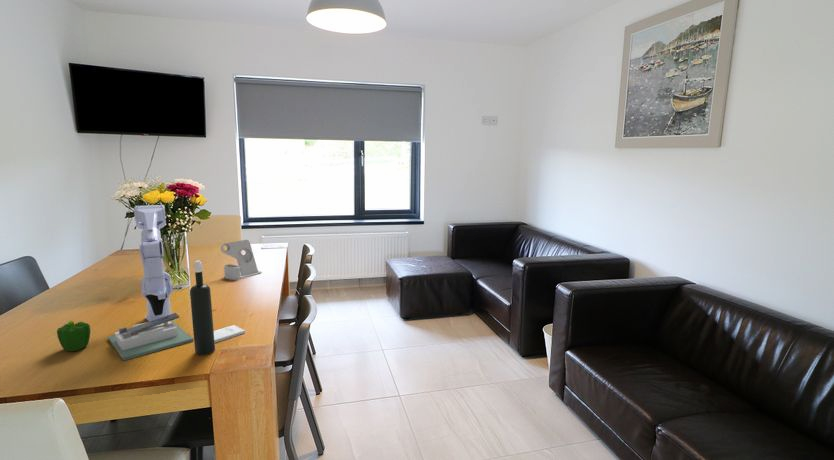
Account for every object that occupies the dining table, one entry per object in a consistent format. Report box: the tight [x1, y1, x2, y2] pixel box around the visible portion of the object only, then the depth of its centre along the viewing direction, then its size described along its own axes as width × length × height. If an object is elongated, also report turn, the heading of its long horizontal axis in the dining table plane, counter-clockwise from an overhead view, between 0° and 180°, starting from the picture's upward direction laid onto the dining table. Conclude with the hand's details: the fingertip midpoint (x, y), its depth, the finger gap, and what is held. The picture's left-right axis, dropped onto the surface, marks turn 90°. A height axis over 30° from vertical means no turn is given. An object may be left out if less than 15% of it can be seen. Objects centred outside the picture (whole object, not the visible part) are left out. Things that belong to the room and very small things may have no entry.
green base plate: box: [107, 320, 194, 361], centre depth 144 cm, size 22×20×6 cm
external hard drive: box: [214, 324, 246, 344], centre depth 149 cm, size 2×8×12 cm
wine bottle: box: [189, 260, 216, 356], centre depth 134 cm, size 6×6×30 cm
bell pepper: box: [56, 320, 91, 352], centre depth 137 cm, size 8×8×10 cm
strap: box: [122, 312, 180, 335], centre depth 144 cm, size 16×4×1 cm, turn 136°
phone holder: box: [220, 239, 262, 281], centre depth 224 cm, size 17×10×18 cm, turn 147°
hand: (158, 314), depth 146 cm, fingers closed
